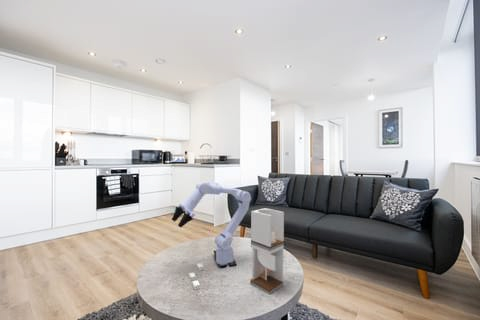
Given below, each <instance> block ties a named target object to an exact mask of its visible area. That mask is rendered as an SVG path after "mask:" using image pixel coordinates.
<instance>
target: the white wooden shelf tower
mask: <svg viewBox="0 0 480 320" xmlns="http://www.w3.org/2000/svg"><path fill="white" fill-rule="evenodd" d="M250 213H251V215H250V217H251V218H250V220H251V221H250V225H251V226H250V248H251V250H252V252H251V253H252V254H251V255H252V257H251V258H252V260H251V279H250V280H249V281H250V285H251V286H253V287H254V288H256V289H258V290H260V291H262V292H263V293H266V294H267V295H270V294H272V293H274V292H275V291H276V290H278V289H280V288H281V287H283V286H284V246H285V245H284V241H285V239H284V237H285V235H284V234H285V233H284V232H285V230H284V229H285V212H284V211H281V210H276V209H272V208H264V207H263V208H260V209H256V210H251V212H250ZM282 285H283V286H282Z"/></svg>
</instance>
